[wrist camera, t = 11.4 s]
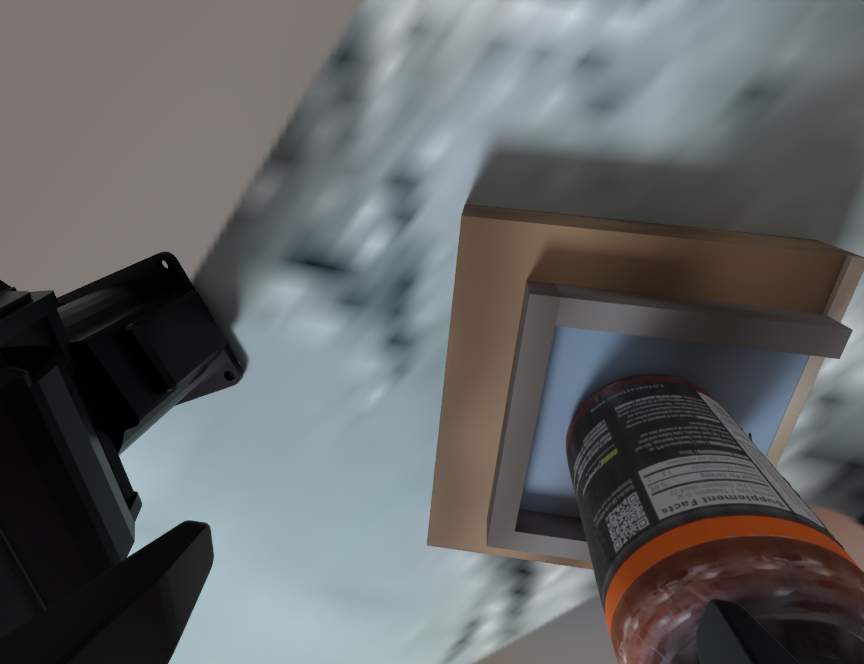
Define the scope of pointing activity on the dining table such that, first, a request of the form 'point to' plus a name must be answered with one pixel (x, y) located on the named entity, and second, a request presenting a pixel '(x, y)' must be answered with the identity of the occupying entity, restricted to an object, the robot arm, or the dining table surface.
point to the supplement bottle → (701, 529)
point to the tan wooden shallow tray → (611, 354)
